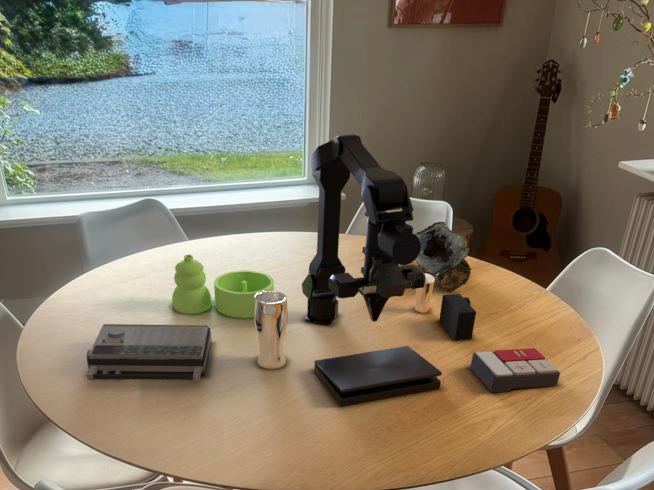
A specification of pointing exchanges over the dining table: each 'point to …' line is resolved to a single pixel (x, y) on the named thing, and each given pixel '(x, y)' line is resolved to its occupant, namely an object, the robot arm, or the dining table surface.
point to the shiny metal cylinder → (424, 294)
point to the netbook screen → (376, 368)
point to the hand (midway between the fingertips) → (373, 320)
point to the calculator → (514, 369)
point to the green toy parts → (217, 290)
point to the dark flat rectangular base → (378, 390)
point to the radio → (150, 352)
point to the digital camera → (457, 316)
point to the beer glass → (270, 327)
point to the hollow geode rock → (444, 256)
